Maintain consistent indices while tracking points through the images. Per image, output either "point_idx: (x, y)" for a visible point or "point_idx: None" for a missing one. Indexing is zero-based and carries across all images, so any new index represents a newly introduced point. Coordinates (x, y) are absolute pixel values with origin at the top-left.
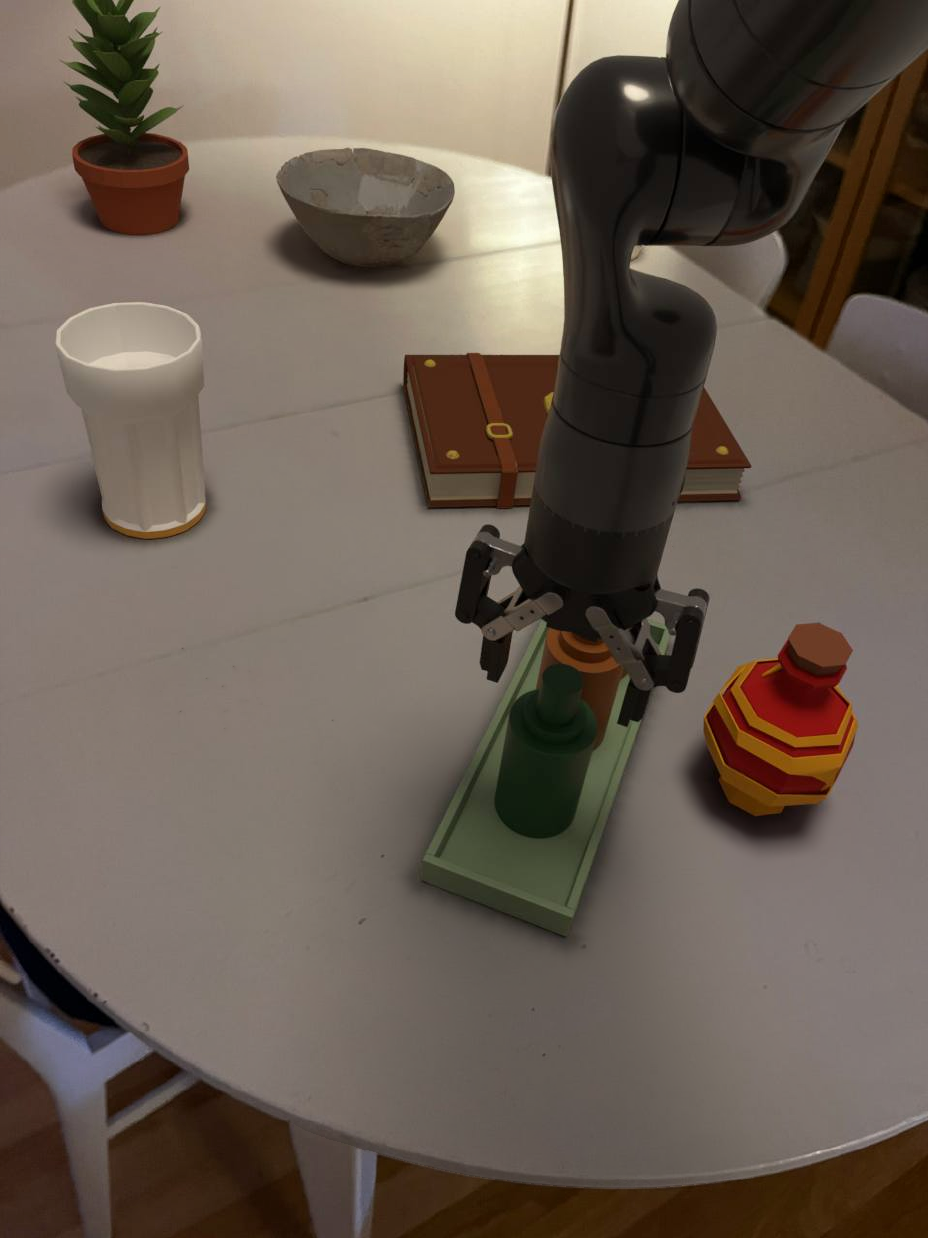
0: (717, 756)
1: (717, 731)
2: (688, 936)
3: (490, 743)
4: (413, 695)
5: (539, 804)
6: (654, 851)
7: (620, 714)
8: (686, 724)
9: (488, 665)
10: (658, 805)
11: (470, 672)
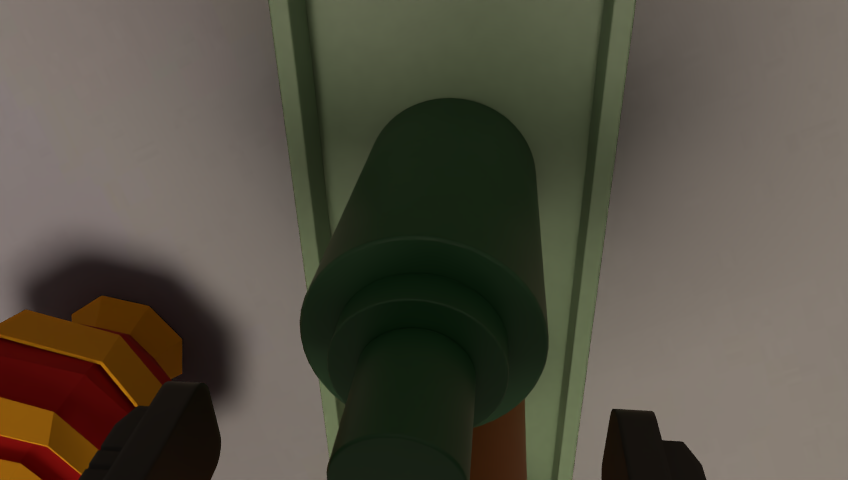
0: (126, 376)
1: None
2: (82, 16)
3: (579, 271)
4: (765, 329)
5: (415, 144)
6: (214, 169)
7: (174, 417)
8: (271, 417)
9: (668, 467)
10: (248, 260)
11: (663, 406)
